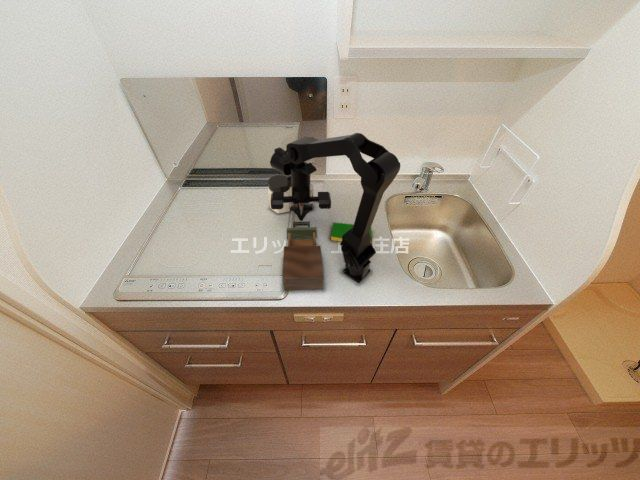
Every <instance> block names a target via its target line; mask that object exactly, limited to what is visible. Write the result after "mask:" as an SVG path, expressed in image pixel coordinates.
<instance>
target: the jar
mask: <svg viewBox="0 0 640 480" xmlns="http://www.w3.org/2000/svg"><path fill="white" fill-rule="evenodd" d="M287 176H288V175H284V174H275V175H272V176H271V177H269V179H268V180H267V185H268V188H267V193H268V203H269V209H270V210H272V211H273V212H275V213H276V214H283V213H284V214H285V213H289V212H291V211H290V204H289V203H283V205H284V207H283V208H282V209H271V194H272V193H273V192H284V196H292V188H291V187H288V186H287Z"/></svg>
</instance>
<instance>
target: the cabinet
mask: <svg viewBox="0 0 640 480" xmlns="http://www.w3.org/2000/svg"><path fill="white" fill-rule="evenodd" d="M282 285H283V291H284V292H289V291H290V292H293V291H316V290H317V291H319V290H320V291H321V290H322V291H323V289H324V288H323V287H324V268H323V259H322V248H321V245H316V246H288V245H285V246H284V245H283V263H282Z"/></svg>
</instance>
